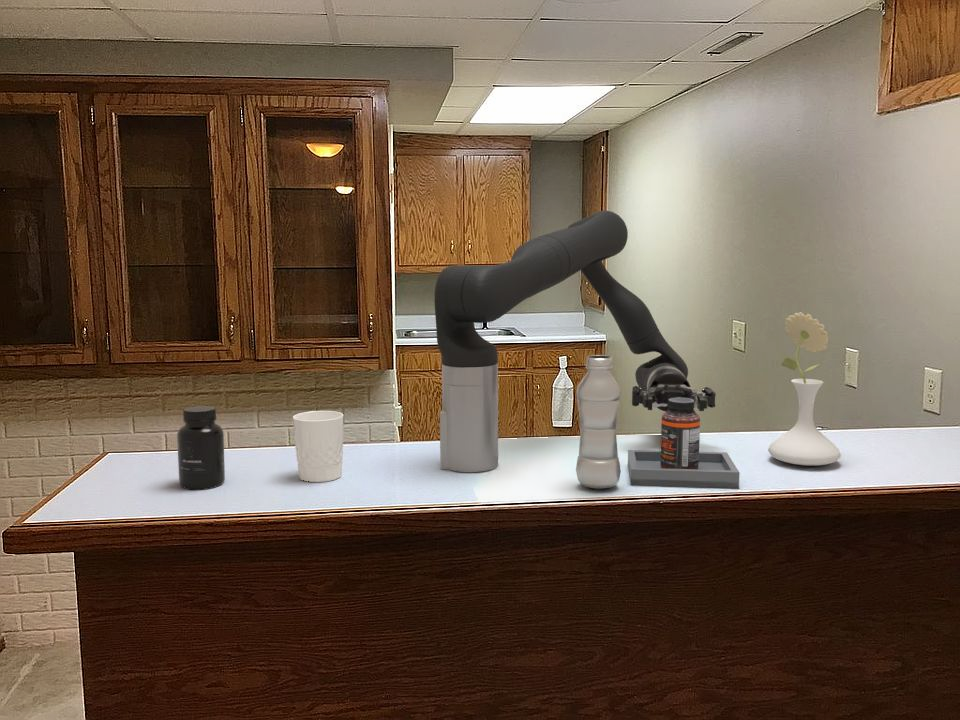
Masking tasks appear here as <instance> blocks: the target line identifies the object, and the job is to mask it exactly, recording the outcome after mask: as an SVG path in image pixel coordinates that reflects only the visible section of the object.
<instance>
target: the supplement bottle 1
mask: <svg viewBox="0 0 960 720" xmlns="http://www.w3.org/2000/svg"><path fill="white" fill-rule="evenodd" d="M182 415H183V416H182V421H183V422H184V424H183V425H182V426H181V427H180V428H179V429H178V430H177V434H176V438H177V439H176V440H177V441H176V442H177V443H176V444H177V460H178V461H177V466H178V482H179V485H180V486H181V488H183V487H185V488H184V489H186V488H190V489H189V490H194V489H199V490H205V489H204V488H209V489H211V488H210V487H214V488H216V487H215V486H217V487H219V486H221V485H223V484H224V482H225V480H226V474H225V473H226V471H225V467H226V466H225V446H224V445H225V443H224V442H225V439H224V429H223V428H222V426H221V425H220V424H218V423H216V420H217V408H216V407H215V406H210V405H198V406H197V405H196V406H189V407H186V408H184V409H182ZM222 483H223V484H222ZM220 484H221V485H220ZM218 485H219V486H218Z"/></svg>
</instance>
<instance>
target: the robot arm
mask: <svg viewBox="0 0 960 720" xmlns="http://www.w3.org/2000/svg"><path fill="white" fill-rule="evenodd" d="M628 233H629V231H628V227H627V225H626V222H625V221H624V219H623V218H622V217H621V216H620V215H619V214H617V213H616V212H614V211H612V210H611V211H610V210H601V211H596V212H594V213H593V214H591V215H588V216H586V217H584V218H582V219H579V220H577V221H575V222H573V223H571V224H570V225H568V227H567V228H563V229H559V230H555V231H552V232H549V233H546V234H543V235H540V236H537V237H534V238H532V239H530V240H528V241H526V242H525V241H524V243H522V244H521V245H519V246H518V247H516V249H515V251H514V252H513V254H512V256H511V259H510V260H509V261H507V262H503V263H500V264H495V265H477V264H475V265H474V264H473V265H470V264H469V265H468V264H466V265H465V264H464V265H463V264H462V265H460V264H458V265H456V264H454V265H449V266H446V267H445V268H444V269H442V270H441V272H440V273H439V274H438V276H437V279H436V282H435V285H434V286H435V287H434V298H433V299H434V300H433V301H434V315H435V329H436V330H435V331H436V342H437V347H438V350H439V353H440V357H441V383H442V384H441V392H442V393H441V397H442V401H441V402H442V405H441V406H442V407H441V408H442V409H441V410H440V412H439V437H440V438H439V445H440V446H439V448H440V449H439V450H440V451H439V453H440V455H439V456H440V461H439V462H440V469H442V470H443V469H444V470H450V471H454V472H461V473H477V472H485V471H486V472H487V471H491V470H493V469H496V468H497V467H498V466H499V368H498V367H499V364H498V363H499V361H498V360H499V357H498V356H499V355H498V349H497V347H496V345H494V344H493V343H491V342H489V341H488V340H486V339H484V337H482V336H481V335H480V333H478V331H477V330H476V327H475V323H476V324H477V323H478V324H486V323H492V322H494V321H496V320H498V319H500V318H502V317H503V316H505V315H506V314H508V313H509V312H510V311H512V309H514V308H515V307H516V306H518V305H520V303H522V302H523V301H525V300H527V299H529V298H531V297H533V296H535V295H537V294H539V293H542V292H543V291H546V290H548V289H551V288H552V287H555V286H556V285H558V284H560V283H563V282H564V281H565V280H567V279H569V278H570V277H572V276H573V275H575V274H577V273H578V272H580V271H581V272H582V274H583V275H584V277H585V279H587V281H588V283H589V284H590V286H591V287H592V289H593V290H594V291H595V292H596V294H597V295H598V296H599V298H600V299H601V301H602V302H603V303H604V304H605V307H606V308H607V309H608V311H609V312H610V314H611V315H612V317H613V319H614V321H615V322H616V324H617V326H618V328H619V330H620V333H621V334H622V336H623V338H624V340H625V343H626V344H627V346H628V348H629V350H630V351H631V353H632V354H634V355H644V354H646V353H653V352H655V353H658V354H660V355H658V356H657V357H654V358H652V359H650V360H648V361H646V362H644V363H642V364H640V365H639V366H638V367H637V369H636V370H635V373H634V374H635V376H634V377H635V381H636V384H637V385H634V386H632V391H631V406H633V407H638V406H639V405H640V404H642V407H643V408H646V409H647V411H653V408H657V409H658V410H659V411H663V412H664V413H665V412H666V411H667V410H668V400H669V399H670V398H677V397H681V398H690V399H693V400H694V409H695V408H697V409H698V411H699V412H704V411H705V410H706V409H708V408H711V409H713V408H716V395H717V393H716V392H715V391H714V390H713V389H712V388H711V387H709V386H705V387H703V388H701V391H698V389H697V387H691V384H690V382H689V381H688V375H689V369H688V366H687V363H686V362H685V361H684V359H683V358H682V357H681V356H680V355H679V354H678V352H676V350H674V348H673V347H672V346H670V345H671V344H669V343H668V341H667V340H666V339H665V338H664V336H663V334H662V333H661V331H660V329H659V327H658V325H657V323H656V321H655V319H654V317H653V315H652V313H651V311H650V309H649V308H648V306H647V305H646V304H645V302H644V301H643V300H642V299H641V298H639V296H637V295H636V294H635V293H633V292H632V291H630V290H629V289H628V288H626V287H625V285H622V284H621V283H620V282H618V281H617V280H616V278H614V277H613V276H612V275H611V274H610V272H609V271H608V269H607V268H606V267H605V265H604V263H603V261H604V260H605V261H606V260H607V259H609V258H612V257H615V256H617V255H618V254H619V253H621V252H622V251H623V250H624V248H626V244H627V242H628V237H629V236H628V235H629V234H628Z"/></svg>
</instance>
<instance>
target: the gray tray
mask: <svg viewBox="0 0 960 720" xmlns="http://www.w3.org/2000/svg"><path fill="white" fill-rule="evenodd" d="M660 456H661V450H647V449H646V450H643V449H628V450H627V469H628V475H629V481H630V486H644V487H673V488H674V487H678V488H705V489H706V488H708V489H709V488H710V489H735V490H736V489H740V471H739V469H738V467H737V466H736V465H735V463H734V461H733V459H732V458H731V457H730V455H729V454H728V452H724V451H723V452H720V451H699V464H698V469H662V468H661V464H660V463H661V462H660Z"/></svg>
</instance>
